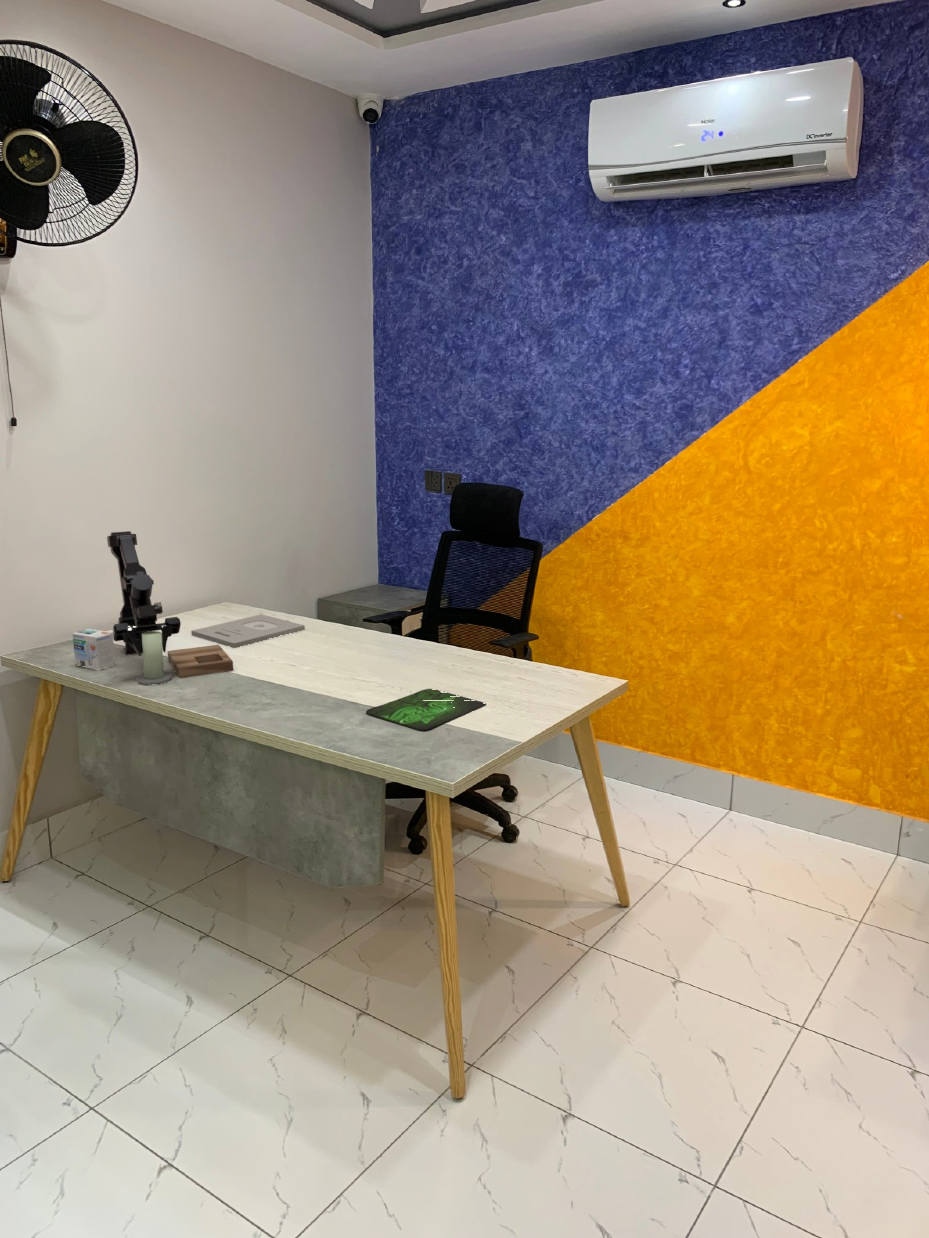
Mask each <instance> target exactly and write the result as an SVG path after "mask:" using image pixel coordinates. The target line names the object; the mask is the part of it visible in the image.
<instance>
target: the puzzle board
mask: <svg viewBox="0 0 929 1238" xmlns="http://www.w3.org/2000/svg"><path fill="white" fill-rule="evenodd" d="M166 652H167V660H169V661H168V662H169V664H170V666H171V667H172V668H173V670H174V672H175V671H176V672H175V673H176V675H177V677H178V679H181V678H182V679H183V678H188V677H195V676H204V674H205V675H211V674H217V673H225V671H226V672H230V671H231V672H232V671H233V672H234V661H233V659H232V658H231V657H230V655H228V653H227V652H225V650H224V649H223V648H222V646H221V645H220V644H215V645H206V646H197V647H190V648H181V649H172V650H167V651H166Z"/></svg>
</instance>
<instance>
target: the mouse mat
mask: <svg viewBox="0 0 929 1238" xmlns="http://www.w3.org/2000/svg"><path fill="white" fill-rule="evenodd" d="M432 689H433V688H425V689H422V690H419V691H417V692H414V693H411V694H408V695H406V696H404V697H400V698H398V699H395V700H392V701H389V702H386V703H384V704H381V705H377V706H374V707H371V708H369V709H367V710H366V711H365V714H367V715H368V716H371V717H373V718H377V719H380V720H384V721H388V722H391V723H393V724H397V725H399V726H400V725H401V726H403V727H406V728H411V729H413V730H417V731H422V732H423V731H428V730H429V731H430V730H432V729H434V728H437V727H439V726H442V725H444V723H445V724H447V723H449V722H451V720H452V721H454V720H456V719H459V718H461V717H462V716H463V717H464V716H465V715H468V714H470V713H472V711H473V712H474V711H476V710H478V709H481V708H483V707H485V706H487V703H485V702H484V701H479V700H477V699H473V698H469V697H465V696H462V695H457V694H456V693H455V694H454V693H450V692H447V693H441V692H440V691H441V690H440V691H439V689H436V690H432ZM456 695H457V696H460V697H450V696H456ZM423 700H454V701H423ZM464 700H470V701H464ZM471 700H475V701H471ZM451 702H452V703H451ZM483 703H485V704H483ZM453 707H455V708H453ZM458 717H459V718H458Z"/></svg>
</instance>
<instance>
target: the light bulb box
mask: <svg viewBox="0 0 929 1238" xmlns="http://www.w3.org/2000/svg"><path fill="white" fill-rule="evenodd" d="M72 641H73V650H74V659H75V660H74V662H75V665H76V664H77V665H80V666H86V667H91V668H94V669H104V668H105V667H110V666H113V665H115V664H116V656H115V654H116V653H115V646H114V638H113V631H111V632H110V631H105V630H99V629H94V628H86V629H84V630H79V631H76V632H73V633H72ZM113 667H114V666H113ZM110 668H111V667H110ZM104 670H105V669H104Z"/></svg>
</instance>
